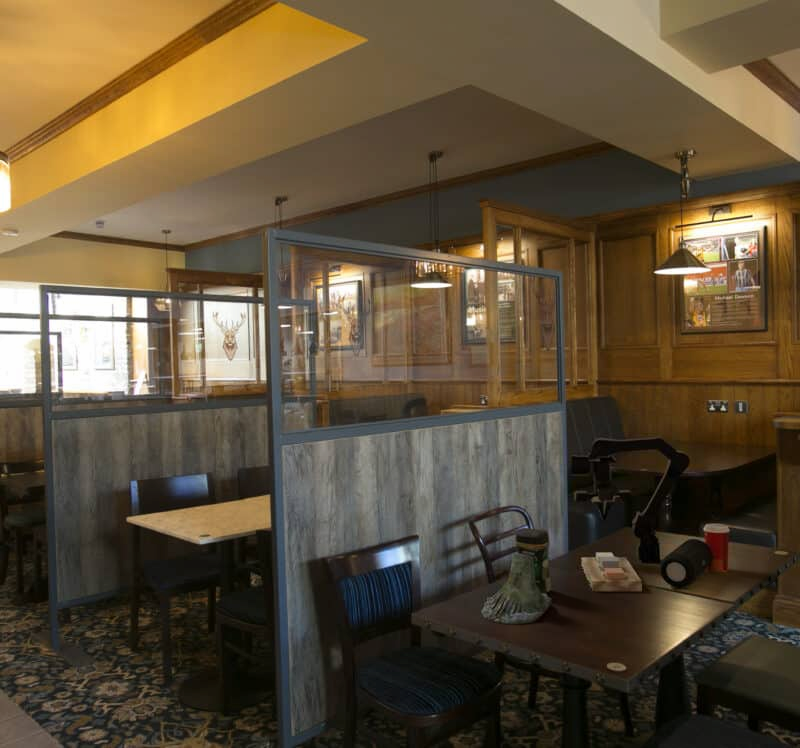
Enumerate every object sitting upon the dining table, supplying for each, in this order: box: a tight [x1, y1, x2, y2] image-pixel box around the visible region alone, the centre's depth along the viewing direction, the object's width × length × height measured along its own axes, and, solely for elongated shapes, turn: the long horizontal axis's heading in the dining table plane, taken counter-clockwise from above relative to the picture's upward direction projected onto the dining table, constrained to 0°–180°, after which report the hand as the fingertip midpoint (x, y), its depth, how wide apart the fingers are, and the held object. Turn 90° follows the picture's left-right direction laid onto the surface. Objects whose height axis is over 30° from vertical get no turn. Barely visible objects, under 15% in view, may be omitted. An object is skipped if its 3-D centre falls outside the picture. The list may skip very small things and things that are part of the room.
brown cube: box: [604, 568, 625, 580], centre depth 211 cm, size 5×5×5 cm
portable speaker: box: [659, 538, 713, 589], centre depth 216 cm, size 26×10×10 cm, turn 143°
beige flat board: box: [581, 556, 643, 592], centre depth 220 cm, size 14×26×3 cm, turn 172°
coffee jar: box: [514, 527, 552, 595], centre depth 210 cm, size 10×8×19 cm
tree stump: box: [480, 552, 552, 625], centre depth 195 cm, size 18×20×18 cm
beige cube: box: [595, 552, 615, 563], centre depth 229 cm, size 5×5×5 cm
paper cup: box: [703, 523, 731, 573], centre depth 223 cm, size 8×8×14 cm
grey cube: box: [600, 556, 619, 571], centre depth 220 cm, size 5×5×5 cm
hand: (604, 521), depth 241 cm, fingers closed
